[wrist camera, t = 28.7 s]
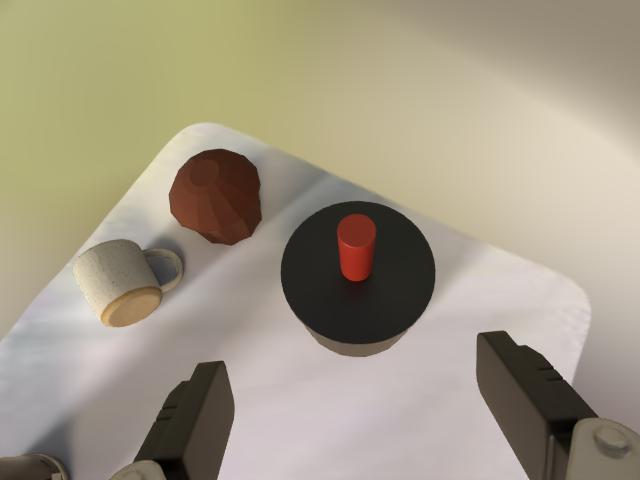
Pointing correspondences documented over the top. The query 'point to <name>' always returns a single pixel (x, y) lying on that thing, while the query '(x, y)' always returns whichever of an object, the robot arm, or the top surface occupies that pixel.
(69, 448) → the top surface
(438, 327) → the top surface
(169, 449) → the robot arm
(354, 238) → the lid
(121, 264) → the ceramic mug
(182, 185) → the muffin
